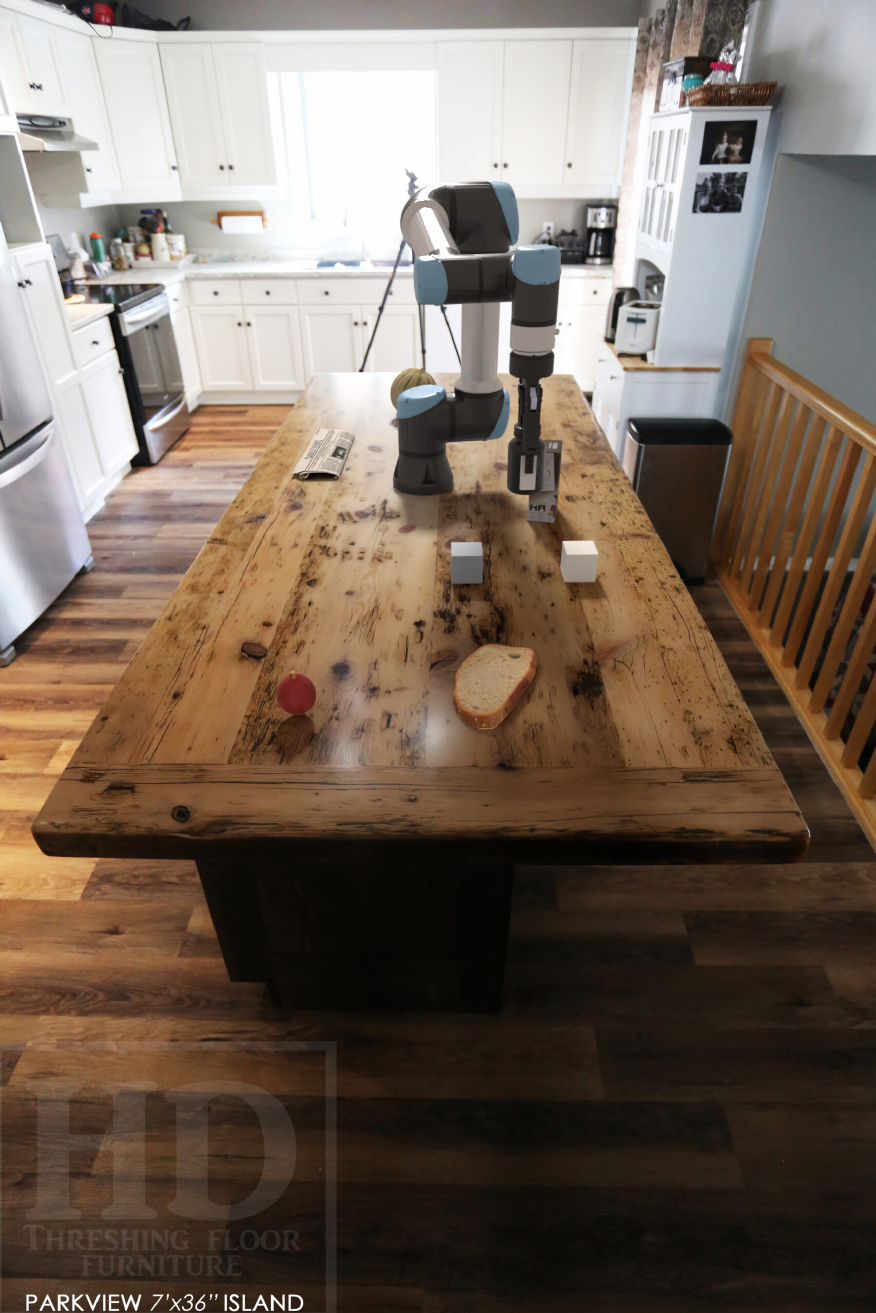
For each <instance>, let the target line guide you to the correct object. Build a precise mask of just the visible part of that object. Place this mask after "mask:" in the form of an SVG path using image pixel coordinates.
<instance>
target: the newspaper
mask: <svg viewBox="0 0 876 1313" xmlns="http://www.w3.org/2000/svg"><path fill="white" fill-rule="evenodd" d="M355 436H356V435H355V433H353V432H352V431H350V430H348V429H340V428H335V429H334V428H333V429H329V428H323V427H320V426H319V425H317V428H316V429H315V432H314V433H313V436H312V438H311V439H310V441H309V444H308V445H307V448H306V450H305V451H304V453H303V454H302V456H301V457H300V459H299V460H298V462H297V464H296V465H295V466H294V468H293V470H292V471H291V474H298V473H299V475H298V478H299V479H300V480H302V479H301V478H304V477H305V476H306V475H307V474H308V473H310V474H311V473H323V474H324V473H326V474H332V475H334V477H335V478H334V479H336V480H337V479H338V480H340V477H341V474H342V471H343V469H344V466H345V464H346V460H347V458H348V456H349V453H350V450H351V448H352V445H353V443H354V440H355ZM300 477H301V478H300Z"/></svg>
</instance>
